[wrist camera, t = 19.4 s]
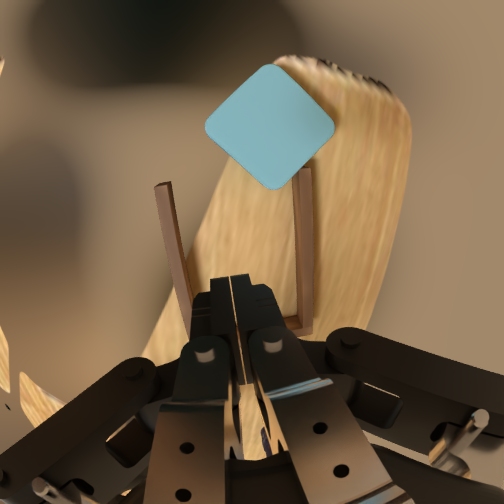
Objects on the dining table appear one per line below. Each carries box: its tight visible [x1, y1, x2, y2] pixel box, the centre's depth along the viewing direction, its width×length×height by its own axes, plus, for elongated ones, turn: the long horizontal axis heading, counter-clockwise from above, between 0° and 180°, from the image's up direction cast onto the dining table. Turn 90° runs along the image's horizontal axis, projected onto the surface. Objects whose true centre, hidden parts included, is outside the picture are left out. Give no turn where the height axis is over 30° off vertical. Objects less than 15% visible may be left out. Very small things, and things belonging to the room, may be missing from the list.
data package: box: [205, 64, 335, 190], centre depth 31 cm, size 12×4×12 cm
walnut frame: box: [154, 166, 314, 347], centre depth 38 cm, size 19×26×4 cm
